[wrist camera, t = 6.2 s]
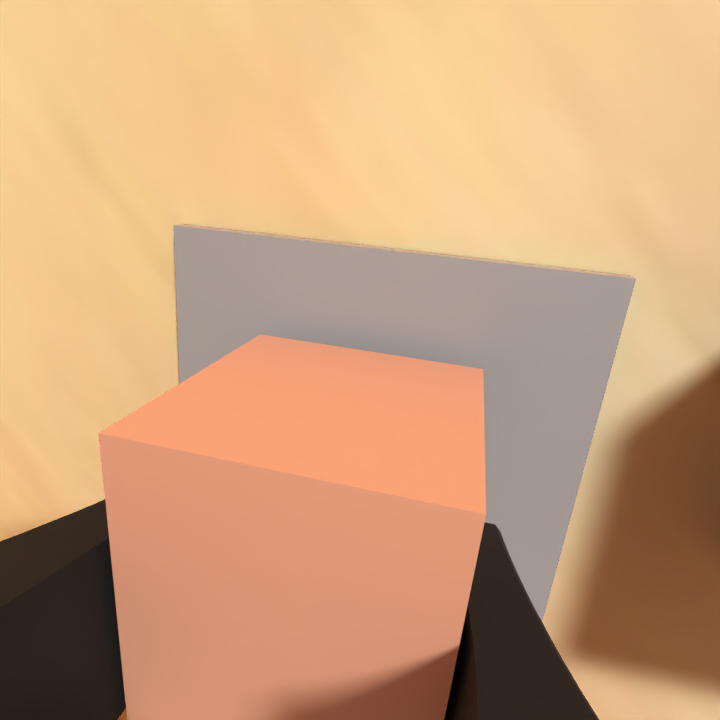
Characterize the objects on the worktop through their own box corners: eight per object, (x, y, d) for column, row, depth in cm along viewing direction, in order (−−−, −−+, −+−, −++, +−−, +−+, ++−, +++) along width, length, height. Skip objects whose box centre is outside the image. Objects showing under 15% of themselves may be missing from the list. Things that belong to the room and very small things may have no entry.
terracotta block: (438, 619, 11) (412, 875, 7) (255, 572, 12) (132, 776, 8) (483, 368, 9) (485, 513, 5) (260, 334, 10) (98, 433, 6)
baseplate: (521, 674, 12) (523, 689, 12) (195, 587, 14) (187, 597, 14) (629, 275, 9) (635, 278, 9) (184, 224, 11) (173, 224, 10)
